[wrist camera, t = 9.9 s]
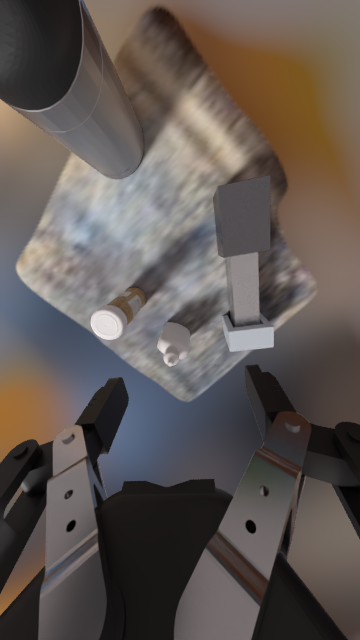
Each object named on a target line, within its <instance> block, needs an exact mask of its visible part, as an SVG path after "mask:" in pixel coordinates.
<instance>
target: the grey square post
mask: <svg viewBox="0 0 360 640" xmlns="http://www.w3.org/2000/svg"><path fill="white" fill-rule="evenodd" d="M226 267H227V280H228V292H229V305H230V318H231V324H232V326H233V328H235V327H243V326H251V325H260V321H259V271H258V252H255V253H249V254H243V255H237V256H231V257H226Z"/></svg>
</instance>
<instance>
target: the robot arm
mask: <svg viewBox="0 0 360 640" xmlns="http://www.w3.org/2000/svg"><path fill="white" fill-rule="evenodd" d="M0 99H1V100H2V101H4V102H5V103H6V104H8V105H9V106H10V107H12V108H13V109H14V110H16V111H17V112H18V113H20V114H21V115H23V116H24V117H25V118H27V119H28V120H29V121H31V122H32V123H34V124H35V125H36V126H38V127H39V128H40V129H42V130H43V131H44V132H46V133H47V134H48V135H50V136H51V137H52V138H54V139H55V140H57V141H58V142H59V143H61V144H62V145H63V146H65V147H66V148H67V149H69V150H70V151H71V152H73V153H74V154H75V155H77V156H78V157H79V158H81V159H82V160H84V161H85V162H86V163H88V164H89V165H90V166H92V167H93V168H94V169H96V170H97V171H98V172H100V173H101V174H103V175H104V176H106V177H109V178H112V179H122V178H125V177H128V176H129V175H131V174H132V173H133V172H134V171H135V170H136V169H137V167H138V166H139V164H140V162H141V159H142V156H143V151H144V136H143V131H142V128H141V125H140V123H139V120H138V118H137V116H136V114H135V112H134V109H133V107H132V105H131V103H130V100H129V98H128V96H127V94H126V92H125V90H124V87H123V85H122V83H121V81H120V79H119V77H118V74H117V72H116V70H115V68H114V66H113V63H112V61H111V59H110V57H109V55H108V53H107V50H106V48H105V46H104V44H103V42H102V40H101V37H100V35H99V33H98V31H97V29H96V27H95V24H94V22H93V20H92V18H91V16H90V14H89V11H88V9H87V8H86V5H85V3H84V1H83V0H0ZM245 383H246V391H247V395H248V398H249V401H250V404H251V407H252V409H253V413H254V415H255V418H256V421H257V424H258V427H259V430H260V433H261V436H262V438H263V441H264V444H263V446H262V448H261V449H257V450H256V451H255V453H254V455H253V457H252V459H251V461H250V463H249V465H248V467H247V469H246V471H245V473H244V476H243V478H242V480H241V482H240V484H239V486H238V488H237V490H236V492H235V494H234V497H233V496H232V495H230V494H229V493H227V492H225V491H223V490H221V489H218V488H215V482H214V479H202V480H201V479H200V480H189V481H186V482H183V483H180V484H177V485H174V486H171V487H163V486H160V485H157V484H153V483H150V482H147V481H127V482H126V481H125V482H124V484H123V487H122V491H119V492H117V493H115V494H113V495H112V496H110V497H108V498H107V495H106V491H105V487H104V483H103V479H102V475H101V470H100V467H99V463H98V461H97V459H98V457H99V455H100V454H108V452H109V450H110V447H111V445H112V442H113V440H114V438H115V435H116V433H117V430H118V428H119V425H120V423H121V420H122V418H123V415H124V413H125V411H126V408H127V406H128V401H129V397H128V393H127V390H126V387H125V384H124V381H123V379H122V378H121V377H118V378H110V379H109V380H108V381H107V383H106V385H105V386H104V387H101V388H100V389H99V390H98V391H97V392H96V393H95V394H94V396H93V397H92V399H91V400H90V402H89V404H88V406H86V408H85V409H84V411H83V413H82V414H81V416H80V417H79V419H78V420H77V422H76V423H75V425H73V426H70V427H68V428H66V429H65V430H63V431H62V432H60V433H59V434H58V435H57V437H56V438H55V440H54V441H51V442H48V443H46V444H43V445H40V446H39V444H38V443H37V441H36V440H33V439H31V440H27V441H24V442H22V443H21V444H19V445H17V446H16V447H15V448H14V449H12V450H11V451H10V452H9V453H8V455H7V456H6V457H5V458H4V459H3V461H2V462H1V463H0V593H1V591H2V589H3V587H4V585H5V583H6V582H7V580H8V578H9V576H10V574H11V572H12V570H13V568H14V566H15V564H16V562H17V561H18V558H19V557H20V555H21V553H22V551H23V549H24V547H25V545H26V543H27V541H28V539H29V537H30V535H31V534H32V532H33V530H34V528H35V526H36V524H37V522H38V520H39V518H40V516H41V514H42V512H43V510H44V509H45V506H46V505H47V511H46V513H47V514H46V517H47V518H46V562H45V564H46V565H45V566H44V567H43V568H42V570H41V571H40V572H39V573H38V574H37V575H36V576H35V577H34V578H33V580H32V581H31V582H30V583H29V584H28V585H27V586H26V587H25V589H24V590H23V591H22V592H21V593H20V594H19V595H18V597H17V598H16V599H15V600H14V601H13V602H12V603H11V604H10V606H8V608H7V609H6V610H5V611H4V612H3V613H2V614H1V615H0V640H348V639H347V638H346V636H345V635H344V634H343V632H342V631H341V630H340V629H339V628H338V626H337V625H336V624H335V622H334V621H333V620H332V618H331V617H330V616H329V615H328V613H327V612H326V611H325V609H324V608H323V607H322V606H321V604H320V603H319V602H318V601H317V599H316V598H315V597H314V595H313V594H312V593H311V591H310V590H309V589H308V588H307V586H306V585H305V584H304V582H303V581H302V580H301V579H300V577H299V576H298V575H297V574H296V572H295V571H294V570H293V568H292V567H291V566H290V565H289V563H288V562H287V559H288V555H289V551H290V546H291V542H292V537H293V533H294V528H295V521H296V517H297V512H298V508H299V503H300V499H301V495H302V491H303V487H304V482H305V478H306V476H308V477H311V478H315V479H318V480H322V481H325V482H328V483H331V484H332V486H333V488H334V490H335V491H336V494H337V496H338V497H339V499H340V501H341V503H342V505H343V507H344V509H345V511H346V513H347V515H348V517H349V519H350V521H351V523H352V525H353V527H354V529H355V531H356V533H357V535H358V536H359V539H360V425H358V424H356V423H351V422H341V423H338V424H337V425H336V426H335V429H332V428H327V427H322V426H317V425H314V424H311V423H309V422H308V420H307V419H306V418H305V417H303V416H302V415H300V414H298V413H297V412H296V411H295V409H294V408H293V406H292V404H291V403H290V401H289V399H288V397H287V396H286V394H285V392H284V391H283V389H282V388H281V386H280V385H279V382H278V381H277V379H276V378H275V377H274V376H273V375H272V374H270V373H269V372H262V371H261V370H260V368H259V366H258V365H257V364H256V365H247V366H245ZM19 487H21V488H22V489H23V491H22V493H21V494H20V496H19V497H18V499H17V501H16V502H15V503H14V505H13V507H12V508H11V510H10V511H9V513H8V514H7V516H6V518H5V519H4V517H3V516H4V511H5V508H6V506H7V504H8V503H9V502H10V500H11V499H12V497H13V496H14V494H15V493H16V491H17V490H18V488H19Z"/></svg>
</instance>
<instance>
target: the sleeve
mask: <svg viewBox="0 0 360 640" xmlns="http://www.w3.org/2000/svg"><path fill="white" fill-rule="evenodd" d="M213 202H214V213H215V224H216V235H217V246H218V255H219V256H221V257H223V258H225V257H231V256H237V255H243V254H249V253H255V252H261V251H267V250H270V175H268V176H263V177H258V178H254V179H249V180H244V181H240V182H235V183H230V184H226V185H221V186H218V187H217V190H216V192H215V194H214V197H213Z"/></svg>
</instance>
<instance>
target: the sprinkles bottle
mask: <svg viewBox="0 0 360 640" xmlns="http://www.w3.org/2000/svg"><path fill="white" fill-rule="evenodd" d="M145 301H146V298H145V295H144V293H143V292H142V291H141V290H140V289H138V288H129V289H127V290H126V291H125V292H124V293H122V294H121V295H119V296H118V297H117V298H115V299H114V300H113V301H111V302H110V303H109V304H108V305H106V306H103V307H101V308H100V309H98V310H97V311H96V312H95V313H94V314H93V315H92V317H91V327H92V329H93V331H94V332H95V333H96V334H97V335H98V336H99V337H101V338H103V339H107V340H113V339H116V338H118V337H119V336H120V335H121V334H122V333H123V332H124V331H125V329H126V328H127V325H128V324H129V323H130V322H131V321H132V320H133V318H134V317H135V316H136V314H137V313H138V312H139V310H140V309H141V308H142V307H143V306H144V304H145Z"/></svg>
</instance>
